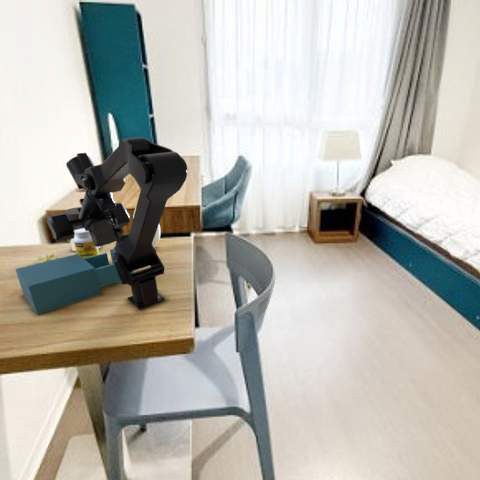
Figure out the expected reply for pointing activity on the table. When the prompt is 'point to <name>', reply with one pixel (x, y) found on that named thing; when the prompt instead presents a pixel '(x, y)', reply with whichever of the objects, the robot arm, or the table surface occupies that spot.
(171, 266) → the table surface
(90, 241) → the supplement bottle
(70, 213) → the jar
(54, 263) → the cabinet
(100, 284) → the drawer
